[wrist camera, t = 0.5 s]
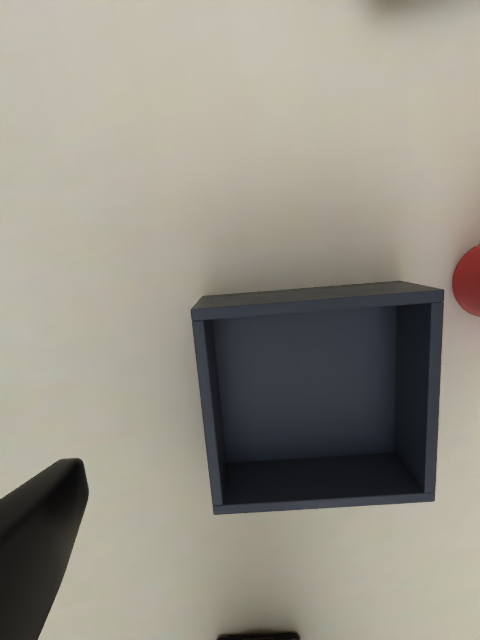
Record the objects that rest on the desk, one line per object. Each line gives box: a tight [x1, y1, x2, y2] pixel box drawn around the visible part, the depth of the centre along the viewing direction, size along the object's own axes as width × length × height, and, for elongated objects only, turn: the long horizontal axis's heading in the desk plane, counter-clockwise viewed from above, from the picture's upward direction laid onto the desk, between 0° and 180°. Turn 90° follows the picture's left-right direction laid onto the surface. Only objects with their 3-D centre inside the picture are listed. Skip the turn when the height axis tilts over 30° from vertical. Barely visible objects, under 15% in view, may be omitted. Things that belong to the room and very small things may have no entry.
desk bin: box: [191, 281, 444, 515], centre depth 20 cm, size 12×12×5 cm
